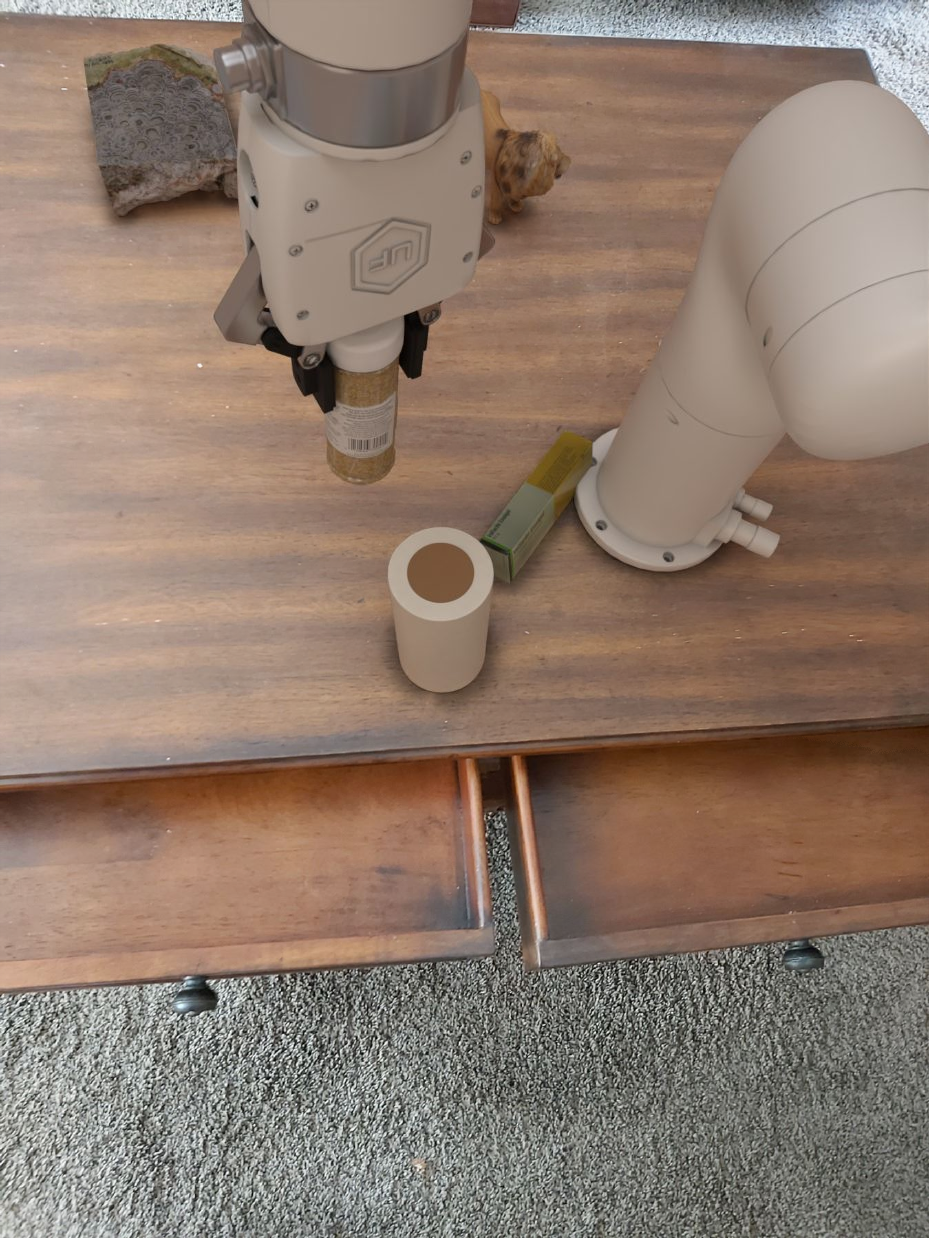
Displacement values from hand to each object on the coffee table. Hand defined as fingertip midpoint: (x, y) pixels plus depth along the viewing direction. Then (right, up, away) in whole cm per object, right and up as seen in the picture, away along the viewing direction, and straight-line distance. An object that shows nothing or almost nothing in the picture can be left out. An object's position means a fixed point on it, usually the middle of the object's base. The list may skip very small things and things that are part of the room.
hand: (360, 373), depth 46 cm
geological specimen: (-20, +26, +26) cm, 42 cm away
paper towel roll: (+4, -16, +12) cm, 20 cm away
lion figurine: (+9, +25, +29) cm, 39 cm away
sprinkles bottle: (-1, -3, +8) cm, 9 cm away
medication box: (+12, -7, +17) cm, 22 cm away
